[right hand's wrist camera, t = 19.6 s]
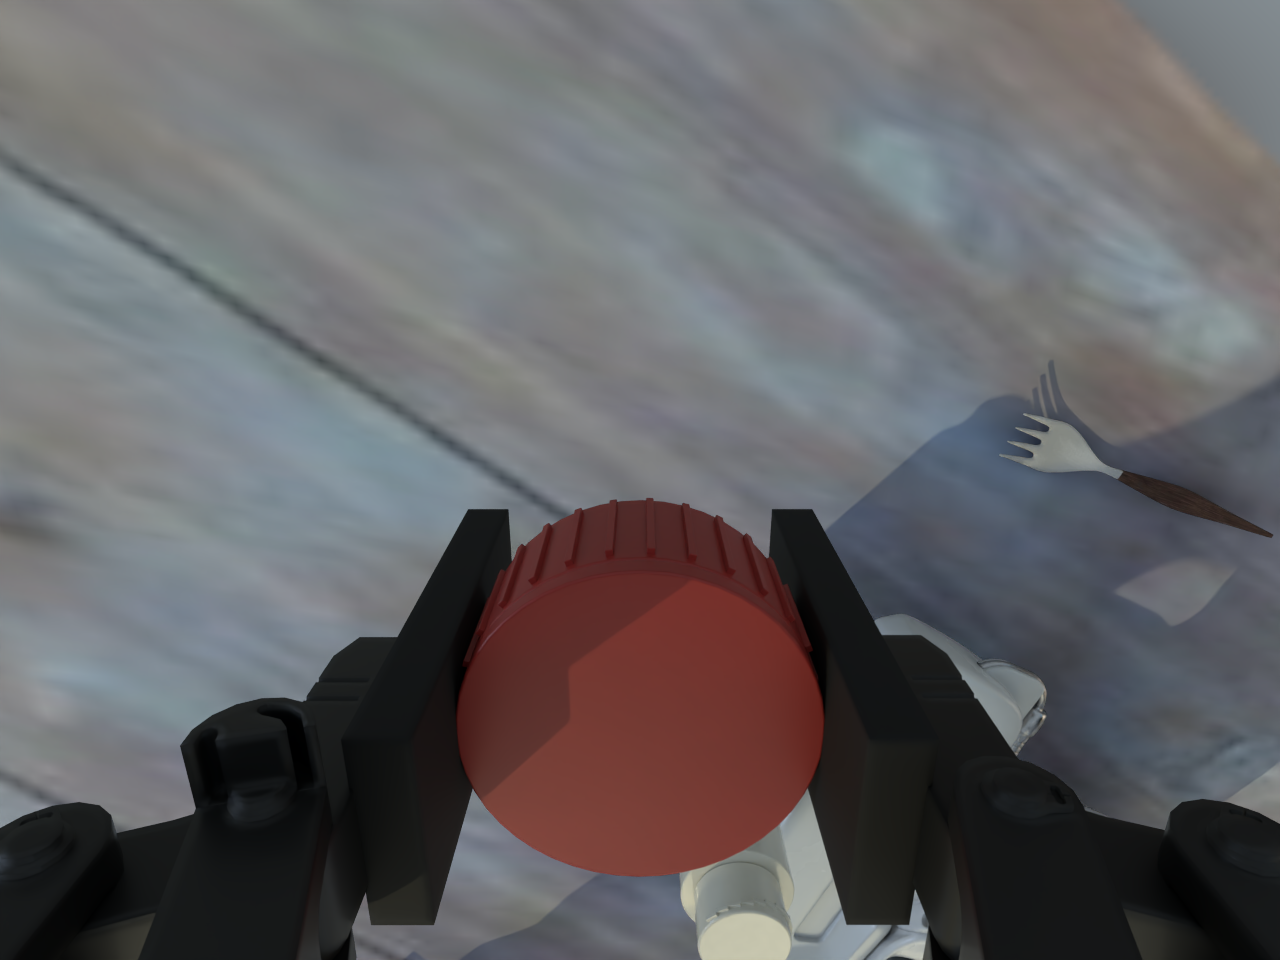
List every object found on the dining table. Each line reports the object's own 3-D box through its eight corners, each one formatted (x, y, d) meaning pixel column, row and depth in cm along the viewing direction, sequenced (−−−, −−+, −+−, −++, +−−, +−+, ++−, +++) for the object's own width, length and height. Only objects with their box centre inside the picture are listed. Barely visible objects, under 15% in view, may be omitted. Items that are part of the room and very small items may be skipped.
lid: (521, 456, 12) (492, 521, 9) (842, 541, 12) (890, 621, 10) (456, 729, 13) (418, 840, 11) (739, 792, 14) (759, 912, 11)
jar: (762, 682, 42) (831, 947, 27) (704, 727, 44) (740, 1007, 29) (709, 632, 41) (750, 881, 26) (650, 681, 42) (658, 946, 27)
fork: (1248, 553, 40) (1278, 571, 38) (979, 446, 37) (997, 459, 36) (1280, 510, 39) (1313, 526, 37) (1007, 398, 37) (1027, 409, 35)
